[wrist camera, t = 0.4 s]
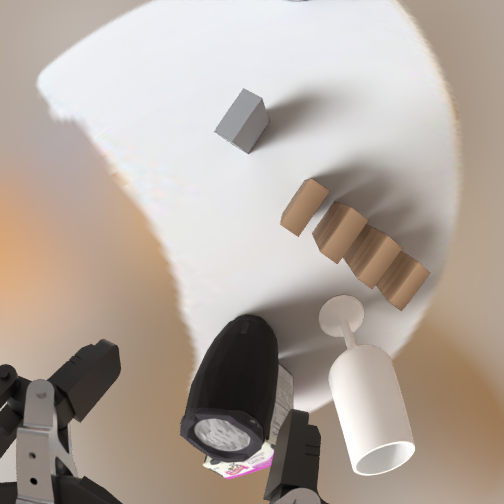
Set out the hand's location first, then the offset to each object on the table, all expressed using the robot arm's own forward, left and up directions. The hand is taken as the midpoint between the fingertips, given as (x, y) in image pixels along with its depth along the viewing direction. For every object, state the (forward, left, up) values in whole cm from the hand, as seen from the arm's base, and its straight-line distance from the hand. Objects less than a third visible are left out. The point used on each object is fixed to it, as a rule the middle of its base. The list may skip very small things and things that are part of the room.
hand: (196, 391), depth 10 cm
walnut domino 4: (0, +16, -26) cm, 31 cm away
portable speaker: (+13, -1, -26) cm, 29 cm away
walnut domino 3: (-2, +12, -26) cm, 29 cm away
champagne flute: (+9, +12, -26) cm, 30 cm away
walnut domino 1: (-7, +5, -26) cm, 27 cm away
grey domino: (-15, -2, -26) cm, 30 cm away
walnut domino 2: (-4, +9, -26) cm, 28 cm away
